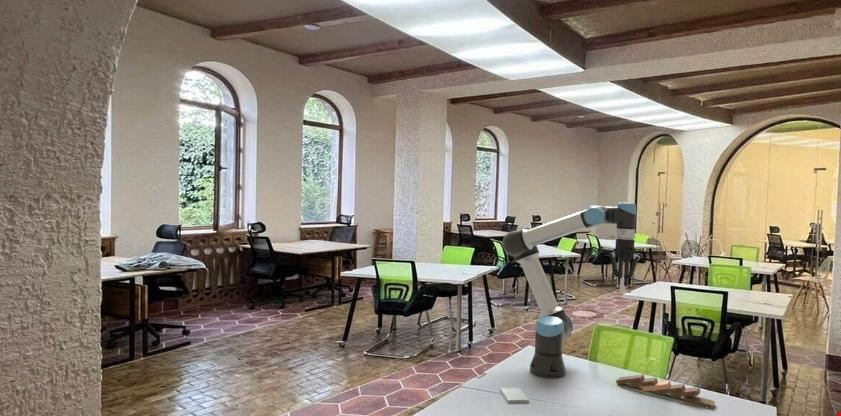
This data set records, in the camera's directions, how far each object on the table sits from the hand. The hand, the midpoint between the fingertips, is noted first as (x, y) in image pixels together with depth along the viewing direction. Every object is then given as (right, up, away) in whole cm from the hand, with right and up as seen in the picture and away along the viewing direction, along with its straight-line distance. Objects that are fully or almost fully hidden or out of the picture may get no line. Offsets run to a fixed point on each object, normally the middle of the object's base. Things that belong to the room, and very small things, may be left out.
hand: (622, 293), depth 228 cm
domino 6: (+15, -37, -23) cm, 46 cm away
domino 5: (+12, -37, -20) cm, 43 cm away
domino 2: (0, -36, -10) cm, 37 cm away
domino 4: (+8, -36, -17) cm, 41 cm away
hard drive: (-51, -37, -24) cm, 67 cm away
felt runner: (+5, -37, -14) cm, 40 cm away
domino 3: (+3, -36, -13) cm, 39 cm away
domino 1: (-4, -36, -7) cm, 37 cm away
